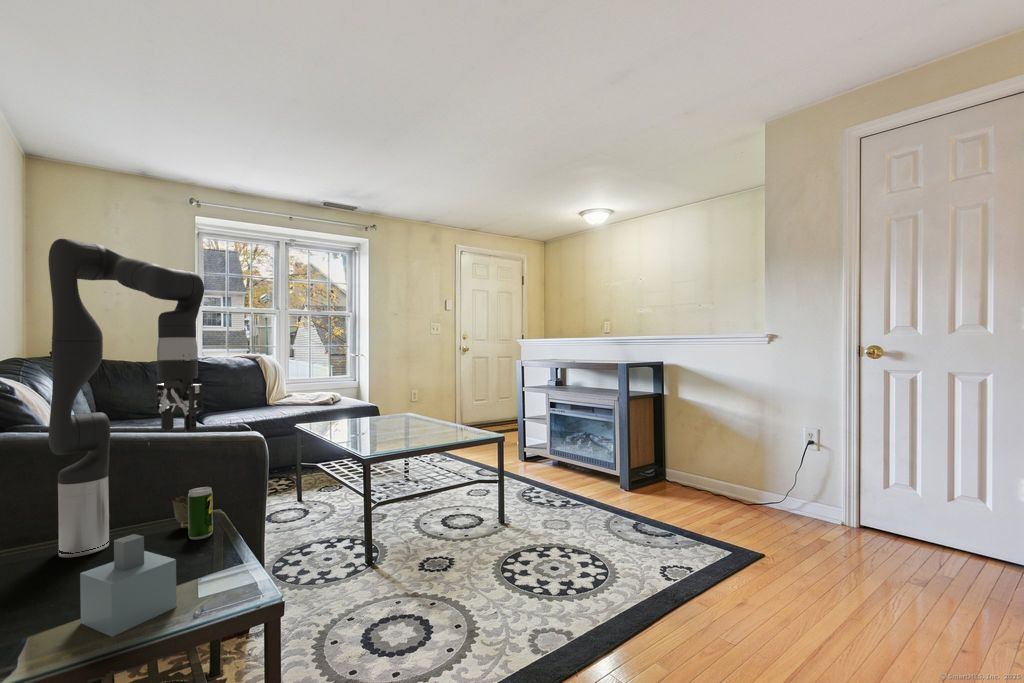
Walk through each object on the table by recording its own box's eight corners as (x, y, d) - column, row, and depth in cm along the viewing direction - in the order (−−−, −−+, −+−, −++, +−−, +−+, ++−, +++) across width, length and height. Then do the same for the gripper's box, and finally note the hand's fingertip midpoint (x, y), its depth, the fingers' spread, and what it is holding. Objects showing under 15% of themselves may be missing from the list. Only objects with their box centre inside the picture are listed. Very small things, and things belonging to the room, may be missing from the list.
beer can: (188, 541, 122) (187, 493, 122) (188, 535, 126) (187, 489, 126) (213, 536, 125) (212, 490, 125) (212, 530, 129) (212, 485, 129)
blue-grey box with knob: (80, 623, 85) (79, 544, 85) (145, 596, 94) (144, 525, 95) (112, 636, 81) (111, 553, 81) (176, 607, 90) (175, 532, 90)
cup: (183, 522, 136) (182, 494, 136) (210, 521, 137) (210, 492, 137) (166, 532, 129) (166, 502, 129) (195, 531, 129) (195, 501, 129)
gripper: (141, 359, 108) (142, 431, 108) (179, 358, 102) (180, 435, 102) (176, 358, 115) (177, 426, 115) (214, 357, 109) (215, 429, 109)
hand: (178, 430), depth 108 cm, fingers open, 8 cm apart
